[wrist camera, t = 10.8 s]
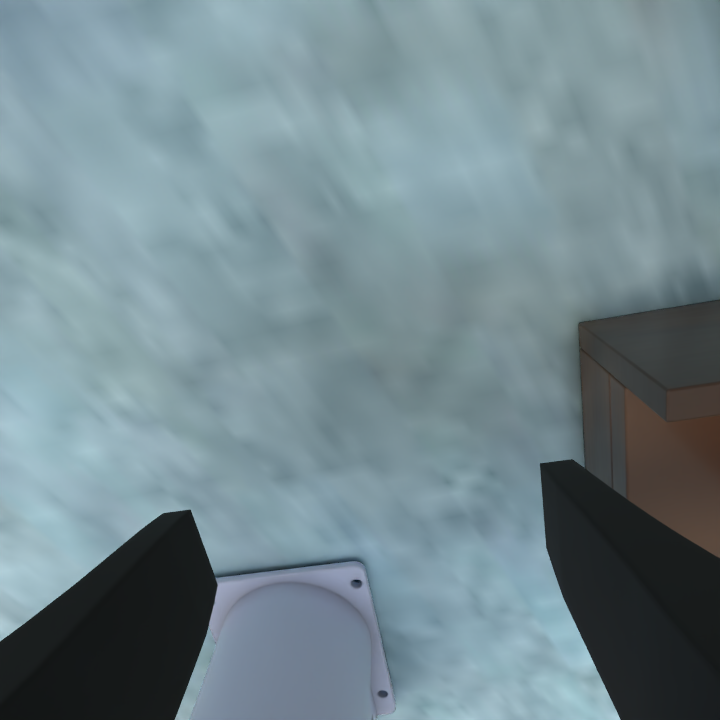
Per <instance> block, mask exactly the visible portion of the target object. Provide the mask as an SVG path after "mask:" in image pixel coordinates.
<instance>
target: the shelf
mask: <svg viewBox="0 0 720 720" xmlns="http://www.w3.org/2000/svg"><path fill="white" fill-rule="evenodd" d="M579 344H580V347H581V348H580V363H581V384H582V405H583V426H584V447H585V468H586V470H588V471H589V472H590V473H592V474H593V475H595V476H596V477H597V478H599V479H600V480H601V481H603V482H604V483H605V484H607V485H608V486H610V487H611V488H612V489H614V490H615V491H616V492H618V493H619V494H621V495H622V496H623V497H625V498H626V499H628V500H629V501H630V502H632V503H633V504H635V505H636V506H638V507H639V508H641V509H642V510H644V511H645V512H646V513H648V514H649V515H651V516H652V517H654V518H655V519H657V520H658V521H660V522H661V523H663V524H665V525H666V526H668V527H669V528H671V529H672V530H674V531H675V532H677V533H679V534H680V535H682V536H684V537H685V538H687V539H689V540H690V541H692V542H693V543H695V544H697V545H698V546H700V547H702V548H703V549H705V550H707V551H708V552H710V553H712V554H713V555H715V556H717V557H719V558H720V300H717V301H711V302H705V303H699V304H692V305H686V306H680V307H674V308H668V309H662V310H656V311H649V312H643V313H637V314H631V315H625V316H619V317H613V318H606V319H600V320H594V321H588V322H582V323H579Z"/></svg>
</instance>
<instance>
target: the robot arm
mask: <svg viewBox="0 0 720 720" xmlns="http://www.w3.org/2000/svg"><path fill="white" fill-rule="evenodd" d="M540 470H541V483H542V496H543V509H544V522H545V535H546V548H547V551H548V554H549V557H550V560H551V563H552V566H553V569H554V572H555V575H556V578H557V581H558V584H559V587H560V589H561V592H562V595H563V598H564V600H565V602H566V604H567V606H568V609H569V611H570V613H571V615H572V617H573V619H574V621H575V624H576V626H577V628H578V630H579V632H580V634H581V636H582V639H583V641H584V643H585V645H586V647H587V649H588V651H589V653H590V655H591V658H592V660H593V662H594V664H595V666H596V668H597V670H598V672H599V674H600V677H601V679H602V681H603V683H604V685H605V687H606V689H607V691H608V693H609V696H610V698H611V700H612V702H613V704H614V706H615V708H616V710H617V712H618V715H619V717H620V719H621V720H720V558H719V557H717V556H715V555H713V554H712V553H710V552H708V551H707V550H705V549H703V548H702V547H700V546H698V545H697V544H695V543H693V542H692V541H690V540H689V539H687V538H685V537H684V536H682V535H680V534H679V533H677V532H675V531H674V530H672V529H671V528H669V527H668V526H666V525H665V524H663V523H661V522H660V521H658V520H657V519H655V518H654V517H652V516H651V515H649V514H648V513H646V512H645V511H644V510H642V509H641V508H639V507H638V506H636V505H635V504H633V503H632V502H630V501H629V500H628V499H626V498H625V497H623V496H622V495H621V494H619V493H618V492H616V491H615V490H614V489H612V488H611V487H610V486H608V485H607V484H605V483H604V482H603V481H601V480H600V479H599V478H597V477H596V476H595V475H593V474H592V473H590V472H589V471H588V470H586V469H585V468H584V467H582V466H581V465H580V464H578V463H577V462H575V461H574V460H573V459H571V460H563V461H556V462H548V463H540ZM355 579H356V580H360V582H354V581H353V580H355ZM208 626H209V627H210V630H211V633H212V635H213V638H214V641H215V643H216V646H215V649H214V652H213V655H212V658H211V660H210V663H209V666H208V669H207V672H206V674H205V677H204V680H203V683H202V686H201V689H200V691H199V694H198V697H197V700H196V703H195V705H194V708H193V711H192V714H191V717H190V720H376V716H377V715H388V714H391V713H393V712H394V711H395V709H396V700H395V696H394V692H393V687H392V683H391V678H390V674H389V670H388V665H387V661H386V656H385V652H384V648H383V643H382V639H381V634H380V630H379V626H378V621H377V617H376V612H375V608H374V604H373V599H372V595H371V590H370V586H369V582H368V577H367V573H366V569H365V566H364V565H363V564H362V563H360V562H358V561H350V562H342V563H333V564H325V565H317V566H309V567H301V568H293V569H284V570H276V571H268V572H260V573H252V574H244V575H235V576H227V577H219V578H215V576H214V573H213V570H212V567H211V565H210V562H209V559H208V556H207V554H206V551H205V548H204V545H203V543H202V540H201V537H200V534H199V532H198V529H197V526H196V523H195V521H194V518H193V515H192V512H191V510H185V511H177V512H170V513H163V514H162V515H160V516H159V517H157V518H156V519H155V520H153V521H152V522H151V523H149V524H148V525H147V526H145V527H144V528H143V529H142V530H140V531H139V532H138V533H137V534H135V535H134V536H133V537H132V538H130V539H129V540H128V541H127V542H126V543H124V544H123V545H122V546H121V547H120V548H118V549H117V550H116V551H115V552H114V553H112V554H111V555H110V556H109V557H107V558H106V559H105V560H104V561H103V562H101V563H100V564H99V565H98V566H97V567H95V568H94V569H93V570H92V571H91V572H89V573H88V574H87V575H86V576H84V577H83V578H82V579H81V580H80V581H78V582H77V583H76V584H75V585H74V586H72V587H71V588H70V589H68V590H67V591H66V592H65V593H63V594H62V595H61V596H59V597H58V598H57V599H56V600H54V601H53V602H52V603H50V604H49V605H48V606H47V607H45V608H44V609H43V610H41V611H40V612H39V613H38V614H36V615H35V616H34V617H32V618H31V619H30V620H29V621H27V622H26V623H25V624H23V625H22V626H21V627H19V628H18V629H17V630H15V631H14V632H13V633H11V634H10V635H9V636H7V637H6V638H4V639H3V640H2V641H0V720H175V717H176V715H177V712H178V709H179V707H180V704H181V701H182V699H183V696H184V694H185V691H186V688H187V686H188V683H189V680H190V678H191V675H192V672H193V670H194V667H195V664H196V662H197V659H198V656H199V653H200V651H201V648H202V645H203V642H204V640H205V637H206V634H207V630H208Z"/></svg>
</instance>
